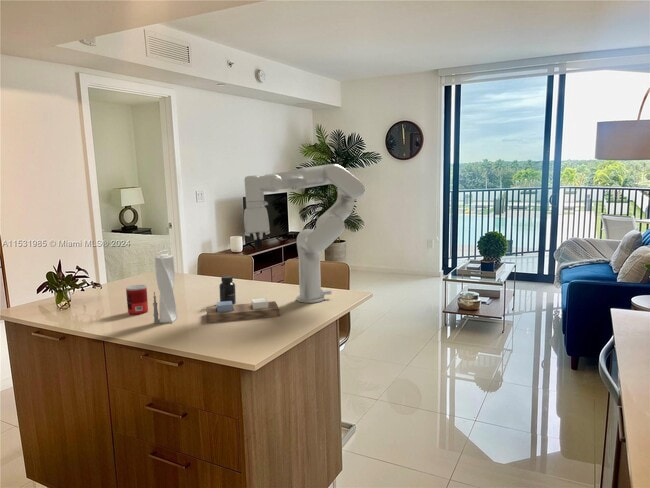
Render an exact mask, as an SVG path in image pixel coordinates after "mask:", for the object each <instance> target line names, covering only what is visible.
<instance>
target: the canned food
mask: <svg viewBox="0 0 650 488" xmlns="http://www.w3.org/2000/svg"><path fill="white" fill-rule="evenodd" d="M147 289H148V288H147V285H145V284H135V285H134V284H133V285H130V286H127V287H126V288H125V290H126V291H125V292H126V293H125V294H126V304H127V312H128V315H130V316H138V315H139V316H140V315H143V314H146V313H148V311H149V303H148V291H147Z"/></svg>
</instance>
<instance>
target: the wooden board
mask: <svg viewBox="0 0 650 488" xmlns="http://www.w3.org/2000/svg"><path fill="white" fill-rule="evenodd" d="M280 315H281V314H280V307H279V305H278V304H277V301H268V308H262V309H253V308H252V302H249V303H239V304H238V303H237V304H233V311H227V312H217V305H215V306H207V307H206V324H207V323H217V322H218V323H220V322H229V321H241V320H242V321H243V320H252V319H261V318H262V319H263V318H264V319H265V318H271V317H272V318H273V317H280Z"/></svg>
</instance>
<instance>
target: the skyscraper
mask: <svg viewBox="0 0 650 488" xmlns="http://www.w3.org/2000/svg"><path fill="white" fill-rule="evenodd" d="M166 251H167V253H165V254H164V253H163V254H160V253H162V252H166ZM169 252H170V249H162V250H159V251H158V252H156V254H155V256H154V270H155V278H156V285H157V289H158V291H159V292H158V293H159V310H158V302H157V297H156V292H155V291H153V303H152V305H153V314H152V315H153V325H169V324H170V325H171V324H173V323H174V322H175V321H176V320H177V319H178V312H177V311H178V310H177V304H176V298H175V297H176V296H175V292H174V287H175V278H176V277H175V276H176V271H175V270H176V266H175V255H173V254H169ZM159 254H160V255H159ZM158 255H159V256H158ZM158 311H159V312H158Z"/></svg>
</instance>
